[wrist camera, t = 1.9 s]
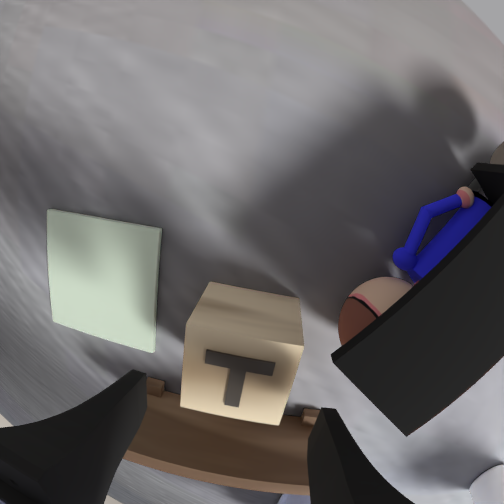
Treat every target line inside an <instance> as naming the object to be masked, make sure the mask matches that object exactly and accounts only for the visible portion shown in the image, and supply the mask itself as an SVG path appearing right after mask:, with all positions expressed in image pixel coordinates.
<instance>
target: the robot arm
mask: <svg viewBox="0 0 504 504" xmlns="http://www.w3.org/2000/svg"><path fill="white" fill-rule="evenodd" d="M146 410H147V382H146V373H143V372H139V371H136V370H131V371H130V372H128V373H127V374H126V375H124V376H123V377H122V378H120V379H119V380H117V381H116V382H115V383H113V384H112V385H110V386H109V387H108V388H106V389H105V390H103V391H102V392H100V393H99V394H97V395H95V396H94V397H92V398H90V399H89V400H87V401H85V402H84V403H82V404H80V405H78V406H76V407H74V408H72V409H70V410H68V411H66V412H64V413H61V414H59V415H56V416H53V417H50V418H47V419H44V420H41V421H38V422H34V423H30V424H25V425H20V426H13V427H5V428H0V504H104V501H105V499H106V495H107V493H108V490H109V487H110V485H111V482H112V480H113V477H114V475H115V472H116V470H117V468H118V466H119V464H120V462H121V460H122V458H123V456H124V455H125V453H126V451H127V449H128V447H129V446H130V444H131V442H132V440H133V438H134V437H135V435H136V433H137V431H138V429H139V427H140V425H141V423H142V420H143V418H144V415H145V412H146ZM307 466H308V478H309V489H310V496H308V495H293V494H282V496H281V498H280V500H279V501H278V503H277V504H415V503H413V502H412V501H410V500H409V499H407V498H406V497H405V496H403V495H402V494H401V493H400V492H399V491H397V490H396V489H395V488H394V487H393V486H392V485H391V484H389V483H388V482H387V481H386V480H385V479H384V478H383V477H382V475H381V474H380V473H379V472H378V471H377V470H376V469H375V468H374V467H373V465H372V464H371V463H370V462H369V460H368V459H367V458H366V456H365V455H364V454H363V452H362V451H361V449H360V448H359V446H358V445H357V443H356V442H355V440H354V439H353V437H352V436H351V434H350V432H349V431H348V429H347V427H346V426H345V424H344V422H343V420H342V419H341V417H340V415H339V413H338V412H337V410H336V409H332V408H322V407H321V410H320V412H319V415H318V417H317V419H316V422H315V424H314V426H313V428H312V431H311V433H310V435H309V437H308V446H307Z"/></svg>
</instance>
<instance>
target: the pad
mask: <svg viewBox="0 0 504 504" xmlns="http://www.w3.org/2000/svg"><path fill="white" fill-rule="evenodd" d="M161 237H162V228H157V227H151V226H146V225H140V224H134V223H129V222H123V221H118V220H112V219H106V218H101V217H95V216H90V215H84V214H78V213H73V212H67V211H61V210H55V209H48V210H47V255H48V274H49V287H50V298H51V308H52V316H53V322H56V323H59V324H62V325H64V326H67V327H70V328H73V329H76V330H79V331H81V332H84V333H87V334H90V335H93V336H96V337H100V338H103V339H106V340H109V341H112V342H115V343H119V344H122V345H125V346H129V347H132V348H136V349H139V350H143V351H147V352H150V353H154V351H155V338H156V310H157V291H158V275H159V261H160V248H161Z"/></svg>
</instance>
